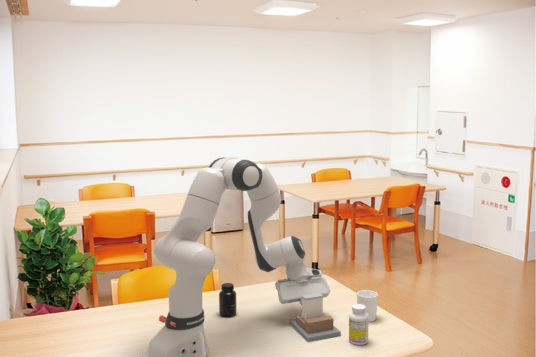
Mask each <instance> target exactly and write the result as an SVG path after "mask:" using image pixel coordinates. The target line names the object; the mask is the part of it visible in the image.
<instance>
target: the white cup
mask: <svg viewBox="0 0 536 357" xmlns="http://www.w3.org/2000/svg"><path fill="white" fill-rule="evenodd" d="M378 296H379V293H378V292H377V291H374V290H370V289H363V290H359V291H357V292H356V304H362V305H365V306H366V311H365V312H366V313H367V314H368V317H369V319H368V323H372V322H374V321H376V320H377V312H378V311H377V310H378V298H379V297H378Z"/></svg>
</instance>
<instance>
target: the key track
mask: <svg viewBox="0 0 536 357" xmlns="http://www.w3.org/2000/svg"><path fill="white" fill-rule="evenodd" d="M288 324H289V325H290V326H291V327H292V328H293V329H294V330H295V331H296V332H297V333H298V334H299V335H300V336H301V337H302V338H303V339H304V340H305V341H306V342H308V343H309V342H315V341H320V340H325V339H330V338H335V337H341V335H342V331H341V330H339V328H337V327H336V326H335V325H334V318H333V317H332V316H331V315H326V314H324V313H323V317H319V318H313V319H307V320H305V321H304V320H303V319H302V316H300V315H296V316H295V318H290V319H289V320H288Z"/></svg>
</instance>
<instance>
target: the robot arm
mask: <svg viewBox="0 0 536 357" xmlns="http://www.w3.org/2000/svg"><path fill="white" fill-rule="evenodd" d="M226 190H231V191H242V192H246V193H247V196H248V198H249V200H250V208H249V210H248V211H247V221H248V227H249V232H250V235H251V236H250V237H251V239H252V244H253V249H254V257H255V259H254V260H255V262H256V265H257V267H258V269H259V270H260V271H263V272H266V273H270V272H273V271H274V270H277V269H278V268H281V267H284V268H285V275H286V278H284V279H278V280H277V281H275V283H274V285H275V289H276V291H277V296H278V301H279V303H280V304H281V305H284V304H285V305H287V304H292V303H299V305H301V306H302V295H308V294H314V293H320V294H322V295H323V299H324V298H327V297H329V295H330V293H331V289H330V285H329V284H328V282H327V280H326V278H325V277H324V276H322V275H323V271H322V270H320V269H316V268H312V267H311V268H310V267H308V265H307V263H306V262H305V257H306V256H305V255H306V252H305V249H304V245H303V242H302V240H301V239H300V238H298V237H295V236H293V235H290V236H286V237H284V238H281V239H279V240H277V241H274V242H271V243H268V244H265V243H264V238H263V233H262V230H261V228H262V226H263V225H264V224H265V222H267V221H268V220H269V219H270V218H271V217H272V216H274V215H275V214H276V212H277V211H278V210H279V208H280V206H281V204H282V196H281V192H280V190H279V187H278V185H277V183H276V181H275V178H274V177H273V175H272V173H271V172H270V170H269V168H268V167H267V166H266V165H265V164H263V163H259V162H258V163H257V162H256V163H255V162H253V161H251V160H249V159H242V158H239V157H219V158H216V159H215V160H212V162H211V163H210V164H209V166H207V167H204V168H201V169H200V170H198V172H197V174H196V176H195V177H194V179H193V181H192V183H191V185H190V187H189V189H188V192H187V196H186V198H185V201H184V203H183V206H182V208H181V212H180V214H179V215H178V218H177V220H176V221H175V223H174V224H173V226H172V227H171V229H170V230H169V231H168V232H167V233H166V234H164V235H163V236H162V237H160V238H159V239H158V240H157V242H156V243H155V245H154V249H153V251H154V252H153V254H154V257H155V259H156V260H157V261H158V262H159V263H161V264H162V266H164V267H165V268H168V269H171V270H173V271H175V274H176V276H175V281H174V284H173V285H171V286H170V288H169V289H168V295H167V296H168V312H167V316H164V315H160V316H159V317H158V321H159V322H161V323H162V324H163V323H164V325H163V326H162V327H161V329H160V330H159V331H158V332H157V333H156V335H154V336H153V338H152V339H151V340H150V341H149V344H148V350H147V353H144V354H143V355H141V357H207V355H208V353H209V350H210V348H209V345H208V343H207V338H206V333H205V328H204V327H205V325H204V322H205V311H204V308H203V287H204V283H205V280H206V278H207V277H208V276H210V274H211V273H212V272H213V270H214V268H215V266H216V255H215V253H214V251H213V250H212V249H210V248H209V247H208V246H207V245H205V244H203V243H200V242H197V241H198V240H199V238H200V237H201V235H202V234H203V233H205V232H206V231H208V230H210V229H211V228H212V226H213V223H214V221H215V218H216V214H217V213H218V209H219V207H220V204H221V201H222V196H223V194H224V193H225V191H226Z"/></svg>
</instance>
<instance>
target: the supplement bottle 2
mask: <svg viewBox="0 0 536 357" xmlns="http://www.w3.org/2000/svg"><path fill="white" fill-rule="evenodd" d="M351 310H352V311H351V312H350V313H349V314H348V315H349V316H348V318H349V319H348V341H349V342H350V343H351V344H353V345H357V346H364V345H366V344H367V343H369V342H368V341H369V322H368V319H369V317H368V314H367V313H366V312H365V311H366V306H365V305H362V304H357V303H355V304H352V306H351Z"/></svg>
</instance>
